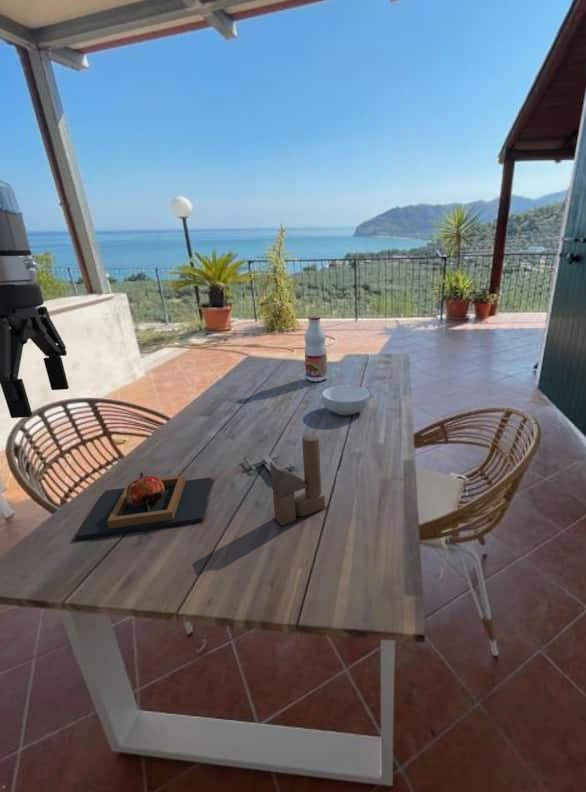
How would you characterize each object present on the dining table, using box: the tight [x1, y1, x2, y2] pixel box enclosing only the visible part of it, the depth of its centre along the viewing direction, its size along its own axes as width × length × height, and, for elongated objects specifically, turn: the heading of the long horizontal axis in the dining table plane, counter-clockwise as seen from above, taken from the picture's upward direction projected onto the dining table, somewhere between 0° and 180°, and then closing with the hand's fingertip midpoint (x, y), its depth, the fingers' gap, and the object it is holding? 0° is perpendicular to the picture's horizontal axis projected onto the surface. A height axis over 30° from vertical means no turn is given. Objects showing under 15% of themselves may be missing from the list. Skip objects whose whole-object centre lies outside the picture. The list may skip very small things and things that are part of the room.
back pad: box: [75, 475, 212, 541], centre depth 88 cm, size 24×16×3 cm, turn 103°
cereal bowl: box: [321, 385, 370, 416], centre depth 139 cm, size 17×17×7 cm
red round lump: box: [126, 472, 164, 512], centre depth 87 cm, size 7×7×10 cm
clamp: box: [243, 455, 295, 474], centre depth 103 cm, size 15×2×10 cm
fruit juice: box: [303, 315, 328, 378], centre depth 168 cm, size 9×9×28 cm
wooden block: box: [270, 433, 326, 526], centre depth 84 cm, size 4×11×18 cm, turn 125°
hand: (42, 401), depth 71 cm, fingers open, 13 cm apart
